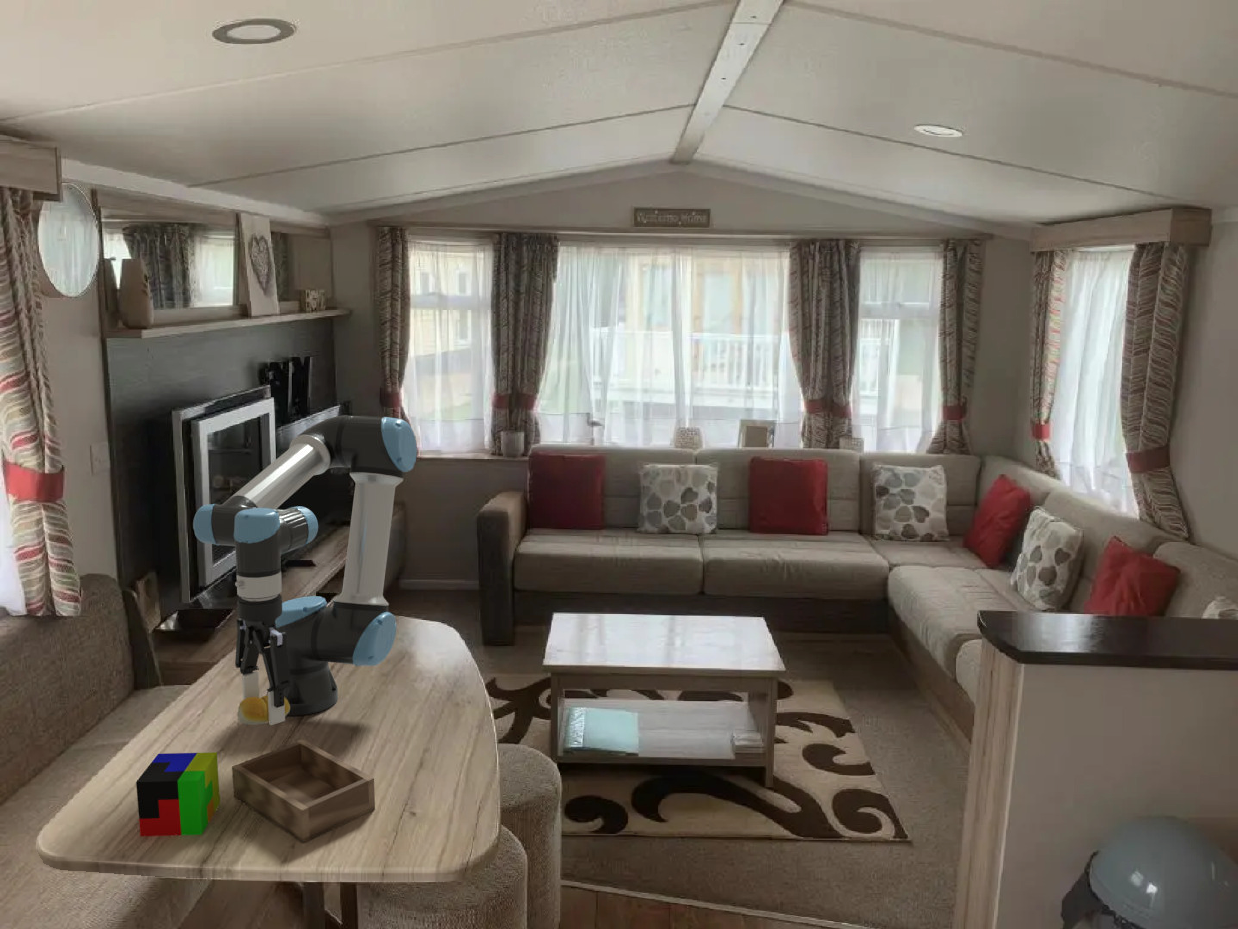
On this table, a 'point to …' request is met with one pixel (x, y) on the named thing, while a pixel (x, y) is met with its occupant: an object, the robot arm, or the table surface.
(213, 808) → the puzzle toy
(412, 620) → the table surface
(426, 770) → the table surface
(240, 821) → the table surface
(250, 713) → the bread roll
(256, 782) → the wooden box
